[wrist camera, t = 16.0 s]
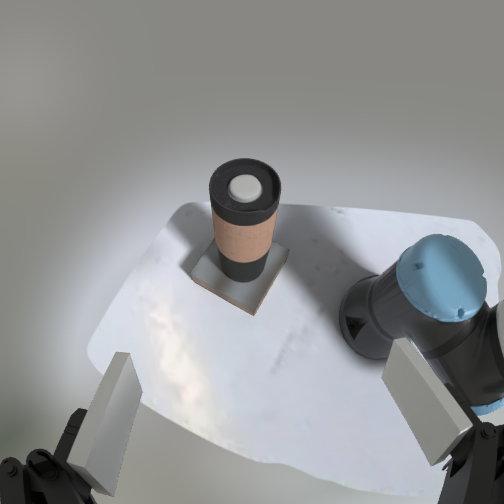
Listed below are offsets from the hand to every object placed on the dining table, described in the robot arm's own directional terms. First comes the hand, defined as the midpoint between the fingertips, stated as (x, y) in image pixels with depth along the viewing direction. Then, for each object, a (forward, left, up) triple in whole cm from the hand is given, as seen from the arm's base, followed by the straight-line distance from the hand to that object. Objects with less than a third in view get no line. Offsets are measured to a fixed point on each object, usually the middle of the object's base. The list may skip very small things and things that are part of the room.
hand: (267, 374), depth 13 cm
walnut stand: (+11, -16, -33) cm, 38 cm away
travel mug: (+10, -16, -29) cm, 34 cm away
